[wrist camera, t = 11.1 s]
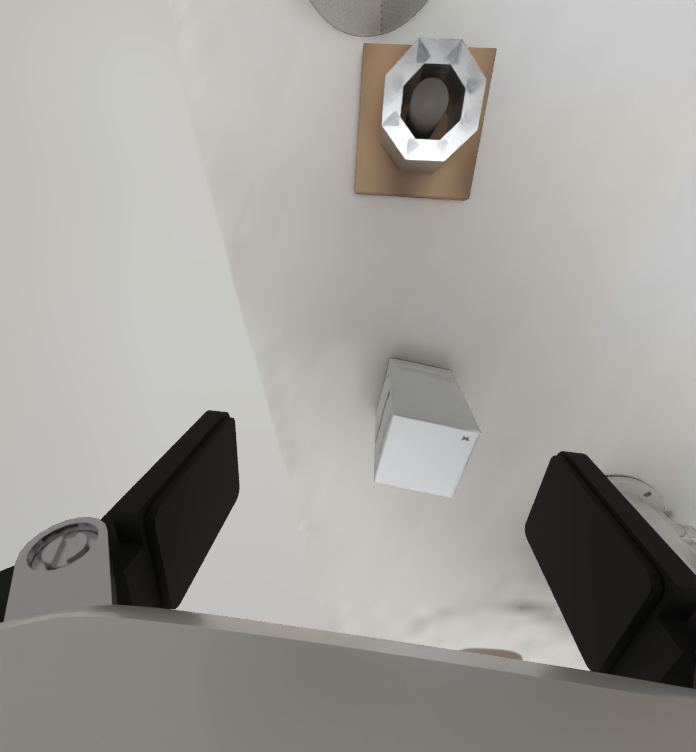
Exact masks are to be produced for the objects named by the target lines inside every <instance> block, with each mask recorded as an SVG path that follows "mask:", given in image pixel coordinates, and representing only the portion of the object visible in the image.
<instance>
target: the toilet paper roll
mask: <svg viewBox="0 0 696 752" xmlns="http://www.w3.org/2000/svg"><path fill="white" fill-rule="evenodd" d="M310 1H311V2H312V4H313V5H314V7H315V8H316V9H317V11H318V12H319V13H320V15H321V16H322V17H323V18H324V19H325V20H326V21H327V22H329V23H330V24H331V25H332V26H334V27H335V28H337V29H338V30H341V31H343V32H345V33H348V34H351V35H356V36H375V35H381V34H384V33H387V32H390V31H392V30H395V29H396V28H398V27H400V26H402V25H403V24H404V23H406V22H407V21H408V20H410V19H411V18H412V17H413V16H414V15H415V14H416V13H417V12H418V11H419V10H420V9H421V8H422V6H423V5H424V4H425V3H426V1H427V0H310Z"/></svg>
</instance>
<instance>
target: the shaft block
mask: <svg viewBox="0 0 696 752" xmlns="http://www.w3.org/2000/svg"><path fill="white" fill-rule="evenodd" d="M411 47H412V45H395V44H370V43H364V46H363V62H362V78H361V95H360V111H359V127H358V143H357V160H356V176H355V193H356V194H369V195H385V196H401V197H417V198H433V199H449V200H467V199H469V196H470V191H471V185H472V180H473V175H474V169H475V164H476V158H477V153H478V147H479V142H480V137H481V131H482V126H483V120H484V115H485V110H486V104H487V99H488V93H489V88H490V82H491V77H492V72H493V66H494V61H495V55H496V50H497V49H496V48H471V47H467V48H468V49H469V51H470V53H471V54H472V56H473V58H474V60H475V61H476V63H477V65H478V66H479V68H480V70H481V71H482V73H483V75H484V76H485V78H486V79H487V80H486V86H485V91H484V97H483V102H482V108H481V113H480V119H479V124H478V130H477V131H476V132H475V133H474V134H473V135H472V136H471V137H470V138H469V139H468V140H467V141H466V142H465V143H464V144H463V145H462V146H461V147H460V148H459V149H458V150H457V151H456V152H455V153H454V154H452V155H451V156H450V157H449V158H448V159H447V160H446V161H445V162H444V163H443V164H442V165H441V166H440V167H439V168H438V169H436V170H435V171H434V172H433V173H432V174H425V173H408V172H400V170H399V169H398V168H397V166H396V165H395V163H394V162H393V161H392V159H391V158H390V157H389V155H388V154H387V152H386V151H385V150H384V148H383V147H382V145H381V125H382V114H383V102H384V90H385V75H386V74H387V73H388V72H389V71H390V70H391V69H392V68H393V67H394V65H395V64H396V63H397V62H398V61H399V60H400V59H401V58H402V57H403V55H404V54H405V53H406V52H407V51H408V50H409V49H410V48H411ZM448 100H449V95H448V90H447V87H446V86H445V84H444V83H443V82H442V81H441V80H439V79H437V78H427V79H425V80H423V81H421V82H420V83H419V84H418V85H417V87H416V88H415V90H414V92H413V95H412V99H411V102H410V103H409V104H408V105H407V106H406V107H405V108H404V109H403V110H402V111H401V114H400V117H401V119H402V120H403V122H404V123H405V125H406V126H407V128H408V129H409V130H410V132H411V133H412V135H413V136H414V138H415V139H426V140H441V139H442V138H443V137H444V136H445V135H446V129H447V122H448V115H447V114H446V112H445V111H446V108H447V105H448Z"/></svg>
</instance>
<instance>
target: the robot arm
mask: <svg viewBox="0 0 696 752" xmlns="http://www.w3.org/2000/svg"><path fill="white" fill-rule="evenodd" d="M236 444H237V443H236V429H235V420H234V418H230V416H229V414H228V413H227V412H220V411H211V410H210V411H209V410H208V411H207V412H205V413H204V415H202V416H201V418H200V419H199V420H198V421H197V422H196V423H195V424H194V425H193V426H192V427H191V428H190V429H189V430H188V431H187V432H186V433H185V434H184V435H183V436H182V437H181V438H180V439H179V440H178V441H177V442H176V443H175V444H174V445H173V446H172V447H171V448H170V449H169V450H168V451H167V452H166V453H165V454H164V455H163V456H162V457H161V459H159V460H158V462H156V463H155V465H154V466H153V467H152V468H151V469H150V470H149V471H148V472H147V473H146V474H145V475H144V476H143V477H142V478H141V479H140V480H139V481H138V482H137V483H136V484H135V485H134V486H133V487H132V488H131V489H130V490H129V491H128V492H127V493H126V494H125V495H124V496H123V497H122V498H121V499H120V500H119V501H118V502H117V503H116V504H115V505H114V507H113V508H112V509H111V510H110V511H109V512H108V513H107V514H106V515H105V516H104V517H103V518H102V519H101V520H99V519H96V518H92V517H82V518H75V519H70V520H66V521H64V522H61V523H59V524H56V525H54V526H52V527H50V528H48V529H47V530H45V531H43V532H41V533H39V534H38V535H37V536H36V537H34V538H33V539H32V540H31V541H29V542H28V543H27V544H26V546H25V547H24V548H23V549H22V550H21V552H20V553H19V556H18V558H17V560H16V563H15V566H12V567H10V568H7V569H5V570H2V571H0V752H696V542H695V541H693V540H691V539H684V538H681V537H690V538H695V537H696V530H695V528H694V527H692V526H688V525H675V524H674V523H673V522H672V521H671V520H670V519H669V518H668V517H667V516H666V515H665V514H664V511H665V509H664V504H663V501H662V499H661V498H660V496H659V495H658V494H657V493H656V492H655V491H654V490H653V489H652V488H651V487H650V486H648V485H647V484H646V483H643V482H641V481H639V480H636V479H633V478H629V477H619V476H618V477H606V476H605V475H604V474H603V473H602V472H601V470H600V469H599V468H598V467H597V466H596V465H595V464H594V463H593V462H592V461H591V459H590V458H589V457H588V456H587V455H585V454H582V453H574V452H565V451H562V452H560V453H558V455H557V456H556V455H555V456H553V457H552V458H551V460H550V462H549V465H548V467H547V470H546V473H545V475H544V478H543V480H542V483H541V485H540V488H539V491H538V493H537V496H536V498H535V501H534V504H533V506H532V509H531V511H530V514H529V516H528V519H527V522H526V525H525V534H526V537H527V540H528V542H529V544H530V546H531V548H532V550H533V553H534V555H535V557H536V559H537V561H538V563H539V565H540V568H541V570H542V572H543V574H544V576H545V578H546V580H547V582H548V585H549V587H550V589H551V591H552V593H553V595H554V597H555V600H556V602H557V604H558V606H559V608H560V610H561V612H562V614H563V617H564V619H565V621H566V623H567V625H568V627H569V629H570V631H571V634H572V636H573V638H574V640H575V642H576V644H577V646H578V649H579V651H580V653H581V655H582V657H583V659H584V661H585V663H586V665H587V667H588V668H589V669H590V670H591V671H586V670H579V669H573V668H567V667H560V666H554V665H547V664H541V663H535V662H528V661H522V660H515V659H508V658H503V657H496V656H490V655H483V654H476V653H470V652H464V651H457V650H450V649H444V648H437V647H431V646H424V645H417V644H411V643H404V642H397V641H391V640H384V639H377V638H371V637H364V636H357V635H351V634H344V633H337V632H330V631H323V630H316V629H309V628H303V627H295V626H289V625H282V624H275V623H268V622H261V621H254V620H247V619H240V618H233V617H227V616H219V615H210V614H203V613H195V612H187V611H179V610H171V609H176V608H177V607H178V606H179V605H180V603H181V601H182V599H183V597H184V596H185V594H186V592H187V590H188V588H189V586H190V585H191V583H192V581H193V579H194V577H195V576H196V574H197V572H198V570H199V568H200V566H201V564H202V563H203V561H204V559H205V557H206V555H207V553H208V551H209V550H210V548H211V546H212V544H213V542H214V541H215V539H216V537H217V535H218V533H219V531H220V529H221V528H222V526H223V524H224V522H225V520H226V518H227V517H228V515H229V513H230V511H231V509H232V507H233V506H234V504H235V502H236V500H237V498H238V494H239V473H238V458H237V445H236ZM680 536H681V537H680Z"/></svg>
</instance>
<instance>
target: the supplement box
mask: <svg viewBox="0 0 696 752" xmlns="http://www.w3.org/2000/svg"><path fill="white" fill-rule="evenodd" d="M480 433H481V432H480V429H479V427H478V425H477V423H476V421H475V419H474V417H473V415H472V413H471V411H470V409H469V406H468V404H467V402H466V400H465V398H464V396H463V394H462V392H461V390H460V388H459V386H458V384H457V382H456V380H455V377H454V375H453V373H452V371H449V370H445V369H441V368H436V367H431V366H427V365H422V364H417V363H412V362H408V361H403V360H398V359H393V358H390V359H389V364H388V369H387V373H386V377H385V381H384V385H383V389H382V392H381V396H380V399H379V403H378V406H377V409H376V424H375V465H374V482H377V483H381V484H386V485H391V486H396V487H400V488H405V489H410V490H415V491H420V492H425V493H429V494H433V495H437V496H442V497H446V498H452V497H453V496H454V494H455V491H456V489H457V486H458V484H459V482H460V479H461V477H462V475H463V472H464V470H465V468H466V466H467V464H468V461H469V458H470V456H471V453H472V451H473V449H474V446H475V444H476V442H477V439H478V437H479V435H480Z"/></svg>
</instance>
